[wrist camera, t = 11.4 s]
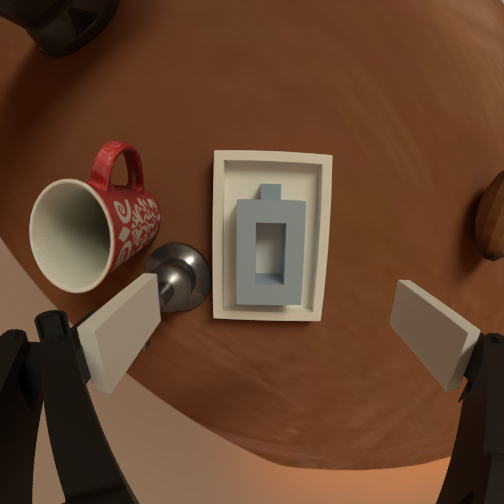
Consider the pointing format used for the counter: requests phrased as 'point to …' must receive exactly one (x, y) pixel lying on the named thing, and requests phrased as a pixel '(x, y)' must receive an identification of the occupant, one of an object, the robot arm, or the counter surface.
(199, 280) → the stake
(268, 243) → the tray
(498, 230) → the potato
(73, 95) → the counter surface
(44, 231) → the mug
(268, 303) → the windowed blue block
